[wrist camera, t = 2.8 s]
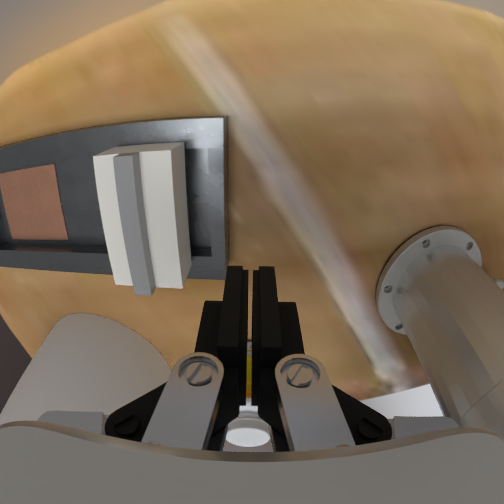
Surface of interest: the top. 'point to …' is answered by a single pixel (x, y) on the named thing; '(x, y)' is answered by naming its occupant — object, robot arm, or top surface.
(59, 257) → the dark grey tray
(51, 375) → the cylinder
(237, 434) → the supplement bottle
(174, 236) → the slider knob
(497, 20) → the top surface
